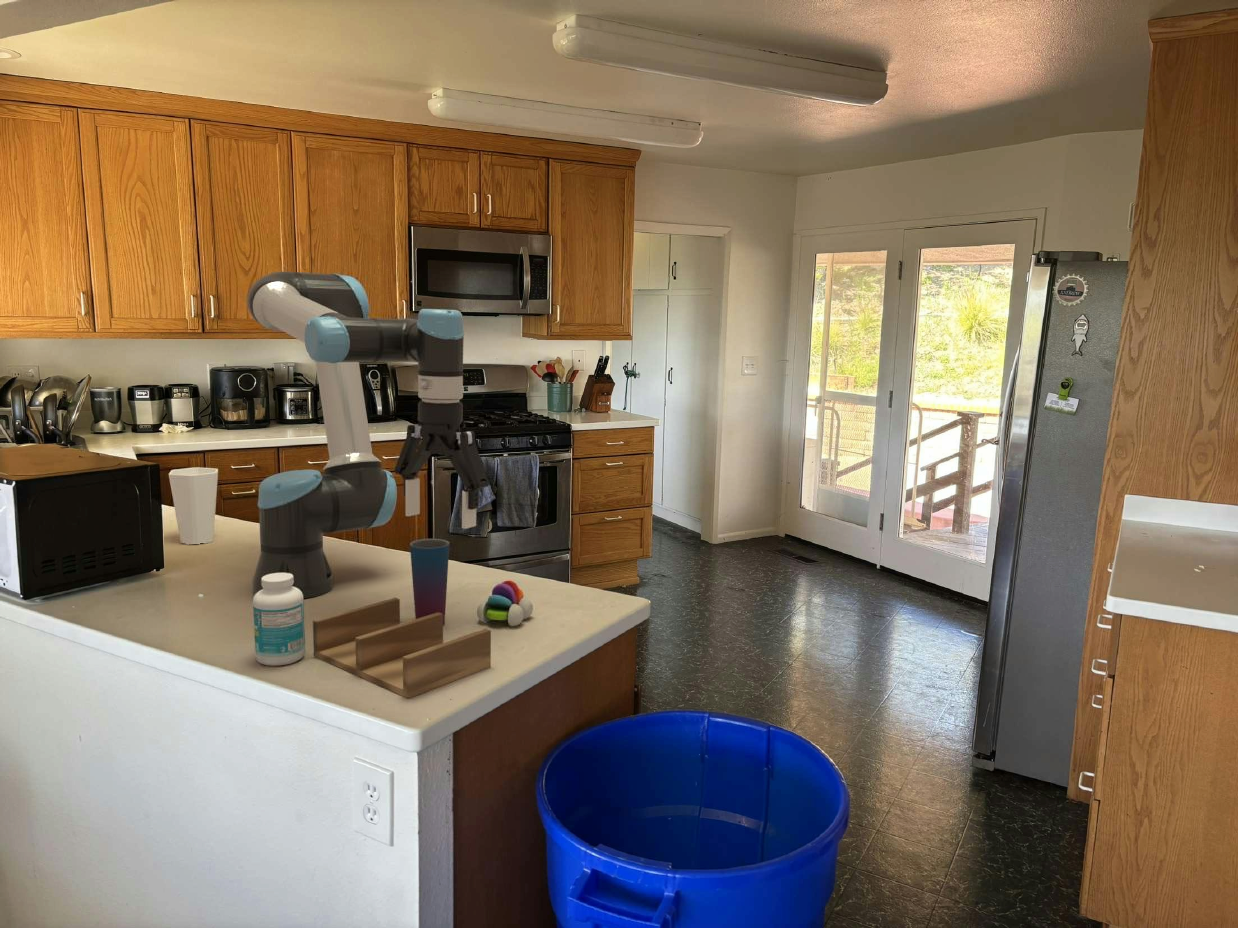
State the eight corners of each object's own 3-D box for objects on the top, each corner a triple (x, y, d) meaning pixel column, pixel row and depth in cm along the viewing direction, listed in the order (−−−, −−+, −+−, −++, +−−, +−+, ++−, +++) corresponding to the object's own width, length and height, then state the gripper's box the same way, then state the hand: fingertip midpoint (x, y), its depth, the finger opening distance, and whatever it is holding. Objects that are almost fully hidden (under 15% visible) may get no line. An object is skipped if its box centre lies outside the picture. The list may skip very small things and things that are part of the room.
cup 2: (440, 632, 151) (440, 549, 148) (404, 629, 152) (403, 546, 150) (455, 620, 157) (455, 540, 155) (420, 616, 159) (419, 537, 156)
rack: (313, 656, 139) (312, 620, 138) (395, 630, 151) (395, 597, 150) (408, 698, 124) (408, 658, 123) (490, 666, 137) (490, 630, 136)
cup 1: (161, 544, 203) (157, 473, 201) (189, 534, 213) (186, 466, 210) (205, 548, 202) (201, 476, 199) (231, 537, 211) (228, 469, 209)
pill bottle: (264, 649, 141) (261, 569, 139) (310, 649, 142) (308, 569, 140) (248, 667, 134) (245, 583, 132) (298, 667, 134) (295, 583, 132)
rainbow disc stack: (537, 615, 162) (537, 578, 160) (514, 632, 153) (514, 592, 151) (496, 609, 164) (496, 572, 163) (471, 625, 155) (471, 586, 154)
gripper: (373, 395, 152) (374, 513, 156) (480, 408, 139) (479, 536, 142) (405, 393, 158) (406, 506, 162) (510, 405, 145) (508, 528, 148)
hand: (440, 521), depth 152 cm, fingers open, 13 cm apart
